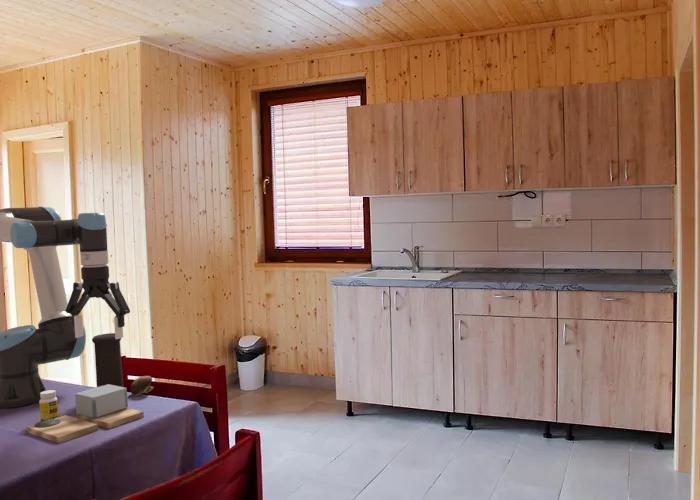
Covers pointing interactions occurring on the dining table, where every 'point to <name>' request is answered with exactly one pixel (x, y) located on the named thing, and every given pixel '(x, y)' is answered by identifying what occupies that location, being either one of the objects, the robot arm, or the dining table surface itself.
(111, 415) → the pattern board
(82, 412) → the cover
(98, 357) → the container
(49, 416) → the supplement bottle
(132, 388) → the mushroom
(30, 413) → the dining table surface
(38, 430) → the board
